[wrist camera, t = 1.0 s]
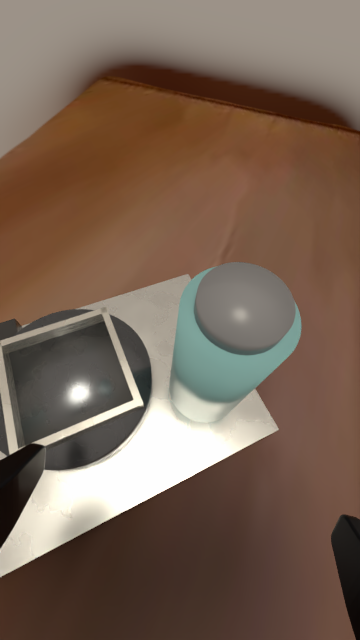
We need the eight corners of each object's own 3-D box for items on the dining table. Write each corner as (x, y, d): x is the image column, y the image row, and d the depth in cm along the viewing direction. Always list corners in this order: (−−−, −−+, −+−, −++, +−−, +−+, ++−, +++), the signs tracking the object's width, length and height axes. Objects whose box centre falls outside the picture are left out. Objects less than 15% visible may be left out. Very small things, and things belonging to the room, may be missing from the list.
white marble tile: (274, 431, 23) (299, 420, 19) (-17, 585, 17) (-70, 617, 13) (187, 279, 30) (191, 248, 26) (-38, 351, 25) (-76, 325, 20)
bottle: (250, 404, 23) (339, 332, 12) (187, 435, 21) (220, 385, 10) (217, 345, 25) (264, 239, 14) (158, 369, 24) (160, 270, 13)
